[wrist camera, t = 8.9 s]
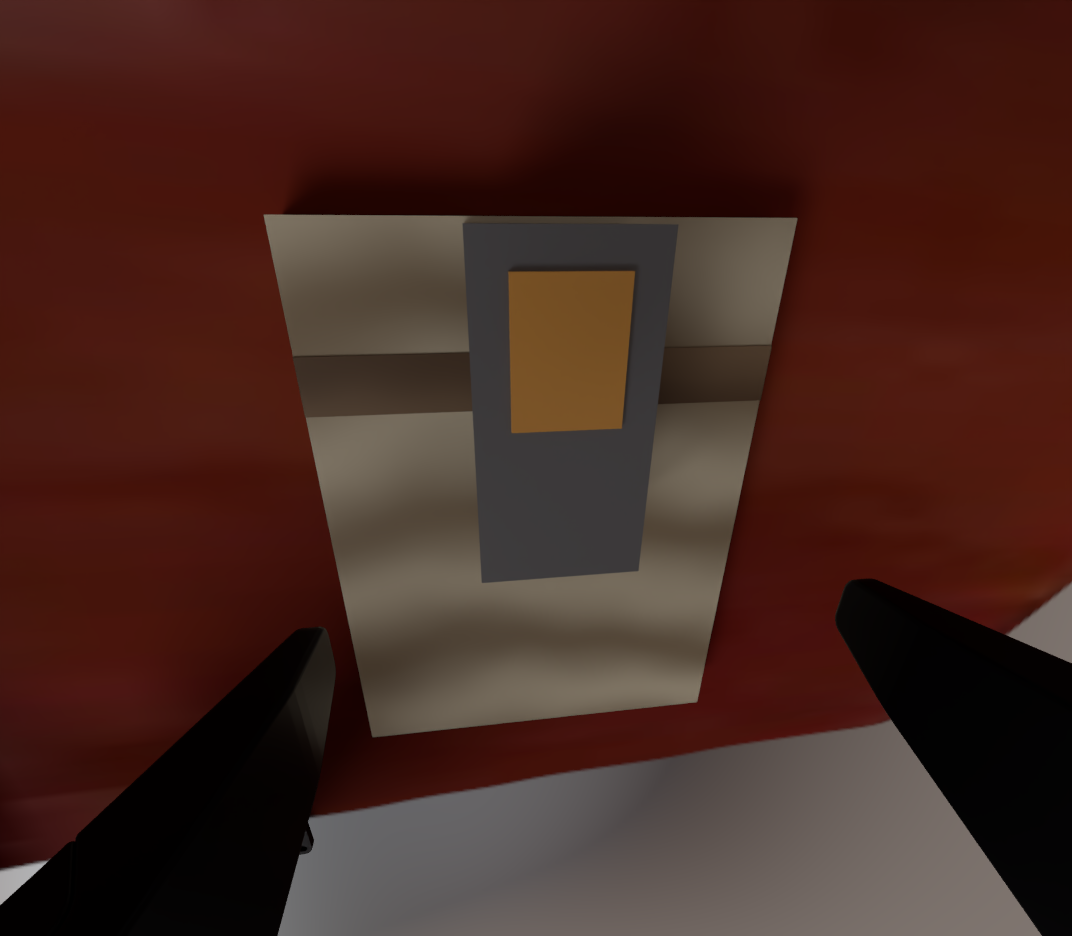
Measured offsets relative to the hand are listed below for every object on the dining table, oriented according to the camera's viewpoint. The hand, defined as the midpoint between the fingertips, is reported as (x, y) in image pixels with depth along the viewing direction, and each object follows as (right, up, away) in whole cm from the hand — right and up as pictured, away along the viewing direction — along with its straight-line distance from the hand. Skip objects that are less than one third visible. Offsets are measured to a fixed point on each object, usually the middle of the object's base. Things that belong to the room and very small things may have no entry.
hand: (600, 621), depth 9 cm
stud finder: (-1, +5, +9) cm, 10 cm away
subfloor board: (-1, +1, +13) cm, 13 cm away
